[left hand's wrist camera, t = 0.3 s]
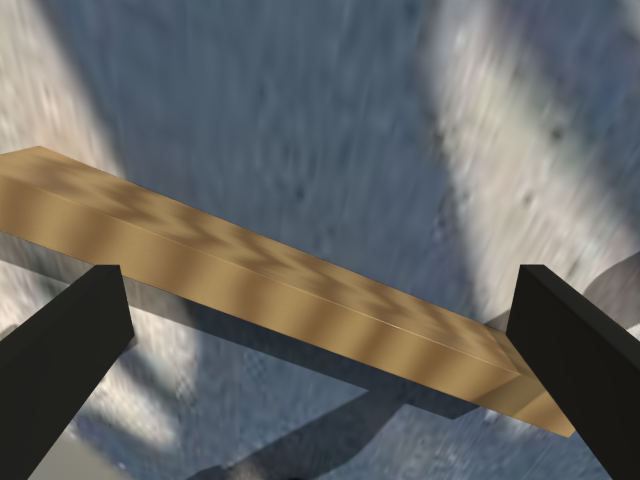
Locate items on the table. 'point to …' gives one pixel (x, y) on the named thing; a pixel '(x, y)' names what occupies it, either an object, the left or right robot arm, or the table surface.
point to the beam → (265, 283)
